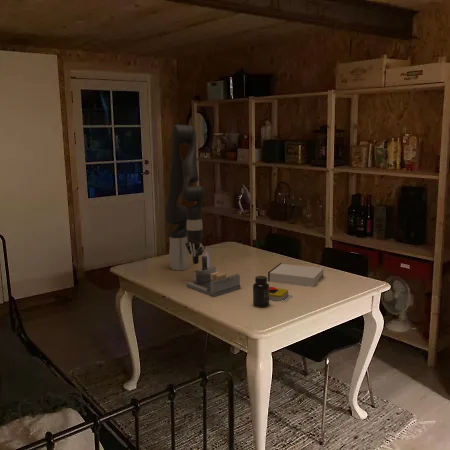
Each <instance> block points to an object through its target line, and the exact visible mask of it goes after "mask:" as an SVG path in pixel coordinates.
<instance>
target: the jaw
mask: <svg viewBox="0 0 450 450" xmlns="http://www.w3.org/2000/svg"><path fill="white" fill-rule="evenodd" d="M201 267H202V268H201V269H197V270H194V271H193V274H192V275H193V282H194V283H195V284H200V283H204V282H207V281H211V274H212V273H215V272H217V267H216V266H213V265H212V266H208V256H207V255H203V256H202V255H201Z"/></svg>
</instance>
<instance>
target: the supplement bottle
mask: <svg viewBox="0 0 450 450" xmlns="http://www.w3.org/2000/svg"><path fill="white" fill-rule="evenodd" d="M254 280H255V282H254V283H253V284H252V304H253V306H255V307H257V308H266V307H269V305H270V300H269V287H270V285H269V283H268V276H265V275H256V276H255V279H254Z"/></svg>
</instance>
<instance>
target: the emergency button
mask: <svg viewBox="0 0 450 450" xmlns="http://www.w3.org/2000/svg"><path fill="white" fill-rule="evenodd" d="M293 297H294V296H293V295H291V294H289V290H288V289H286V288H278V287H275V286H269V301H271V300H272V302H277V301H282V300H283V301H284V302H285V303H288V301H290V300H291V299H292V298H293ZM290 298H291V299H290ZM289 299H290V300H289ZM283 301H282V302H281V303H284V302H283Z"/></svg>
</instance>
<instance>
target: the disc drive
mask: <svg viewBox="0 0 450 450" xmlns="http://www.w3.org/2000/svg"><path fill="white" fill-rule="evenodd" d="M324 270H325V269H324V268H323V267H316V266H315V267H314V266H306V265H305V266H304V265H295V264H288V263H287V264H286V263H282V262H280V263H278V264H277V265H276V266H274V267H273V268H272V269H270V270H269V271H268V273H267V282H272V283H279V284H286V285H295V286H301V285H302V287H303V286H304V287H309V286H311V287H310V288H314V287H315V286H316V285H317V284H318V283H319V282H321V280H322V279H323V278H324Z"/></svg>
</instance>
